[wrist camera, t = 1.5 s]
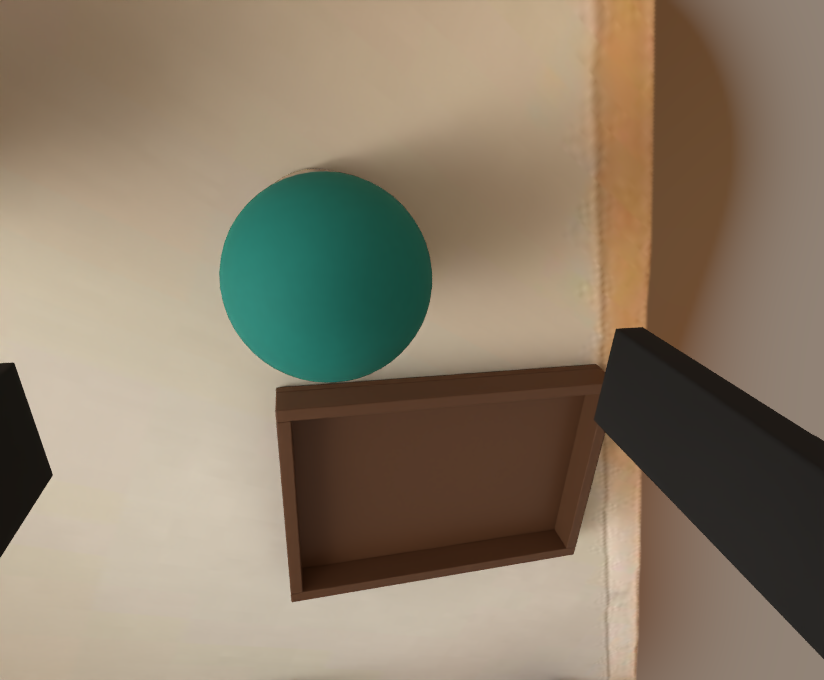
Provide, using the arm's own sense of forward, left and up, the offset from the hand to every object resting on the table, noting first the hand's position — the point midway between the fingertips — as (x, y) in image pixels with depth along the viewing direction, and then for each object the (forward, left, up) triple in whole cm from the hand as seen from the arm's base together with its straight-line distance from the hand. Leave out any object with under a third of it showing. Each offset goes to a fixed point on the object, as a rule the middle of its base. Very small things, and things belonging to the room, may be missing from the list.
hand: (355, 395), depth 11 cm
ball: (0, 0, -9) cm, 9 cm away
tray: (-17, -8, -17) cm, 25 cm away
